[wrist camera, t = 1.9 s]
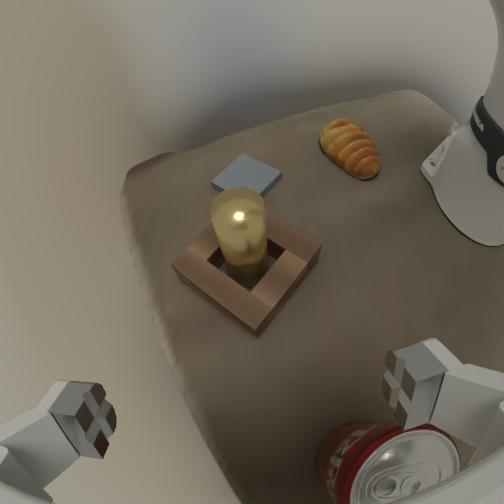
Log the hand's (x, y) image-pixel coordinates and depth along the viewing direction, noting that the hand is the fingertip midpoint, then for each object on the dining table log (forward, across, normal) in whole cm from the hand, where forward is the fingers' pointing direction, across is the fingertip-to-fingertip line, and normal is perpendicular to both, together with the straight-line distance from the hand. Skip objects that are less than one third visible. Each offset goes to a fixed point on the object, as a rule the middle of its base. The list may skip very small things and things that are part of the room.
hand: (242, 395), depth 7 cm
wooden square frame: (+23, 0, +4) cm, 23 cm away
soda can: (+9, -7, +18) cm, 21 cm away
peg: (+23, 0, +4) cm, 23 cm away
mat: (+31, -1, -4) cm, 31 cm away
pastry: (+34, -16, -7) cm, 38 cm away
